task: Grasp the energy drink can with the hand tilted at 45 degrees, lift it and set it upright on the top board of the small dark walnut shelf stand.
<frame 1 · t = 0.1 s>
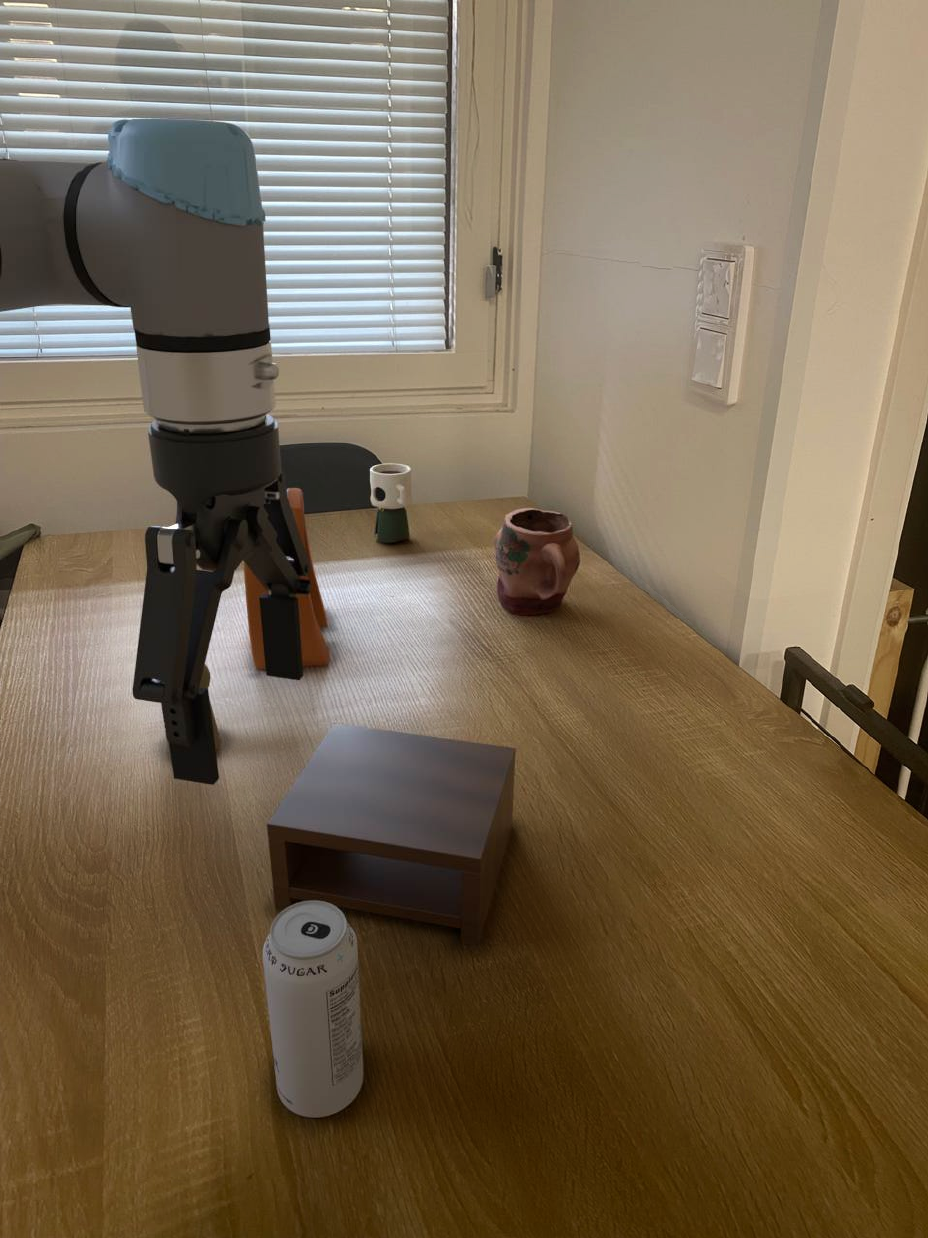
hand: (244, 722, 63), 24 cm above the table, tool pointing down, fingers open, 13 cm apart
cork: (195, 752, 102), on the table
alarm clock: (294, 645, 125), on the table
pink ceramic mug: (534, 608, 137), on the table
energy drink can: (321, 1089, 64), on the table
character mug: (392, 540, 162), on the table
shelf: (401, 872, 84), on the table
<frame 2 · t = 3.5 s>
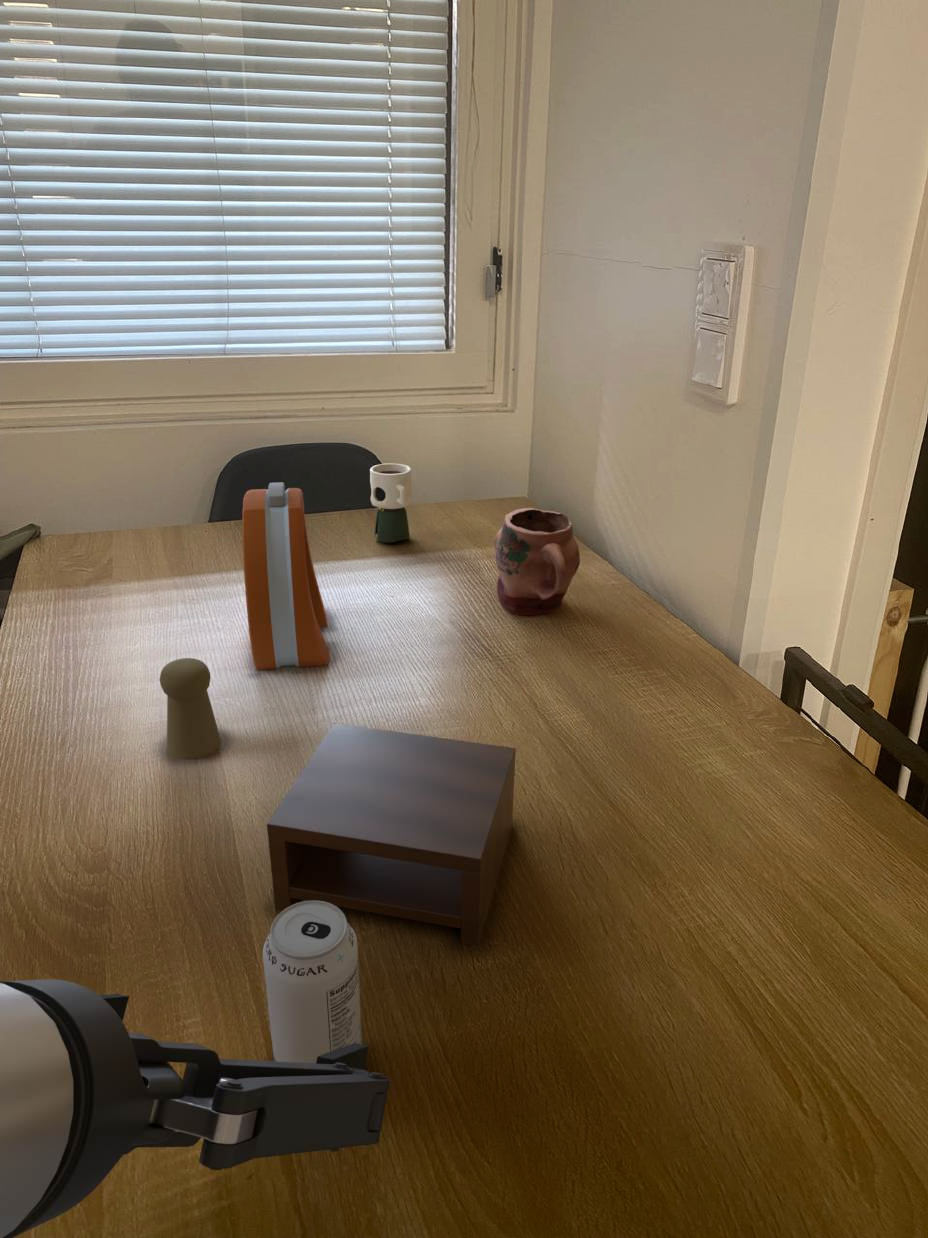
hand: (233, 1046, 48), 17 cm above the table, tool tilted 45°, fingers open, 13 cm apart
nothing on the table moved.
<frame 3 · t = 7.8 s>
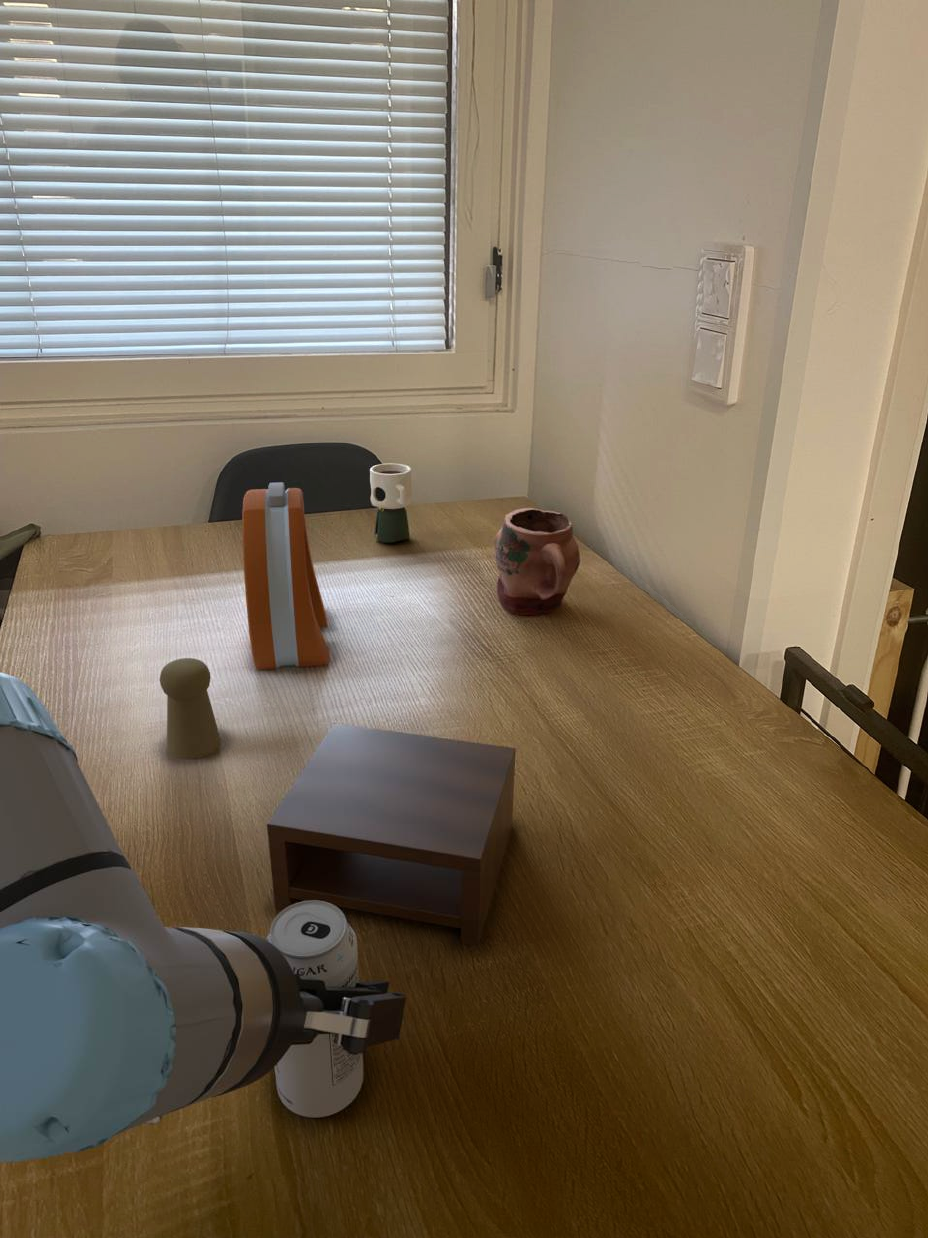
hand: (335, 992, 65), 5 cm above the table, tool tilted 45°, fingers closed on energy drink can, 6 cm apart
energy drink can: (321, 1089, 64), on the table, touching gripper
everything else where it was.
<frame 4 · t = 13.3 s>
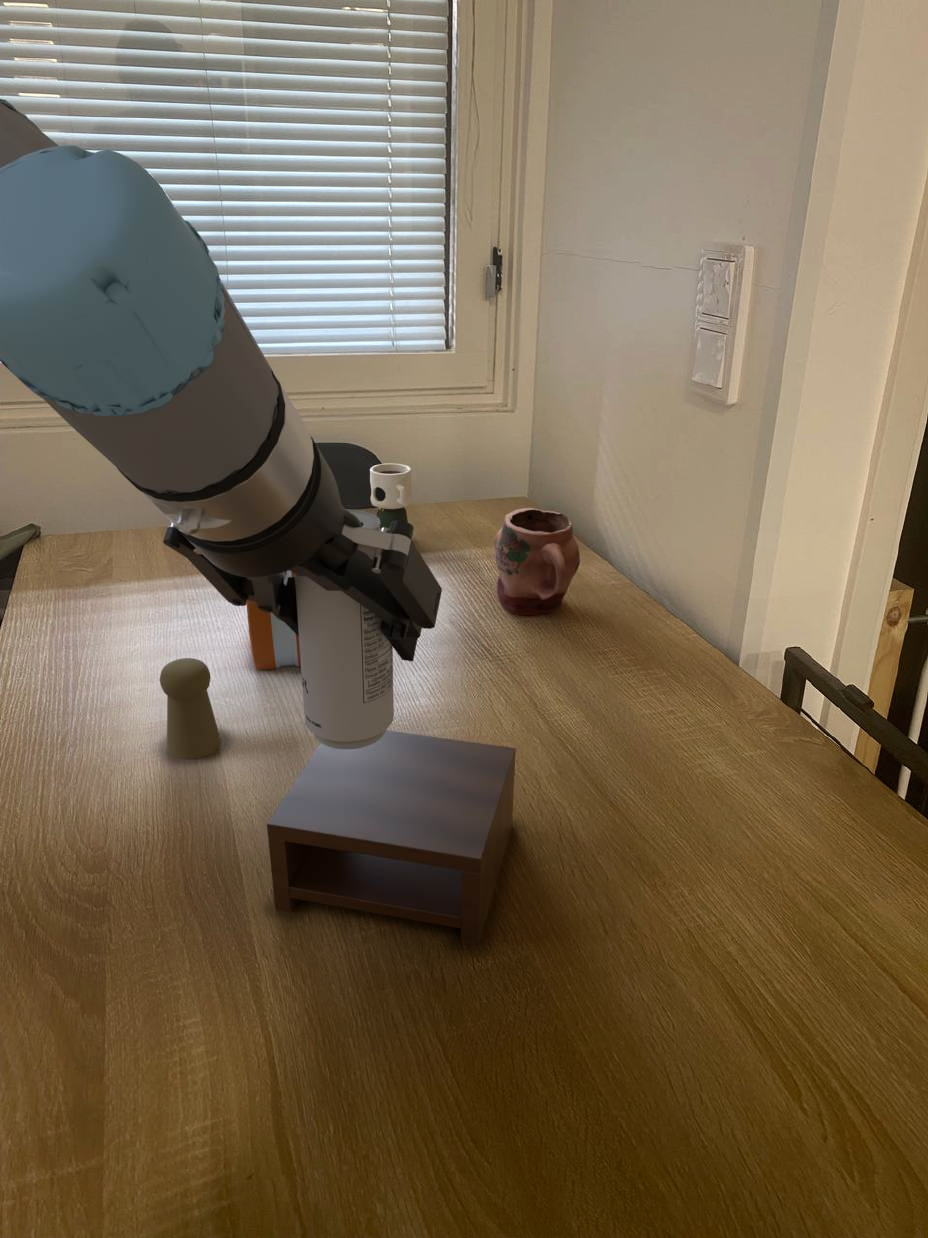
hand: (364, 636, 63), 29 cm above the table, tool tilted 45°, fingers closed on energy drink can, 6 cm apart
energy drink can: (349, 731, 62), point 24 cm above the table, touching gripper
everything else where it was.
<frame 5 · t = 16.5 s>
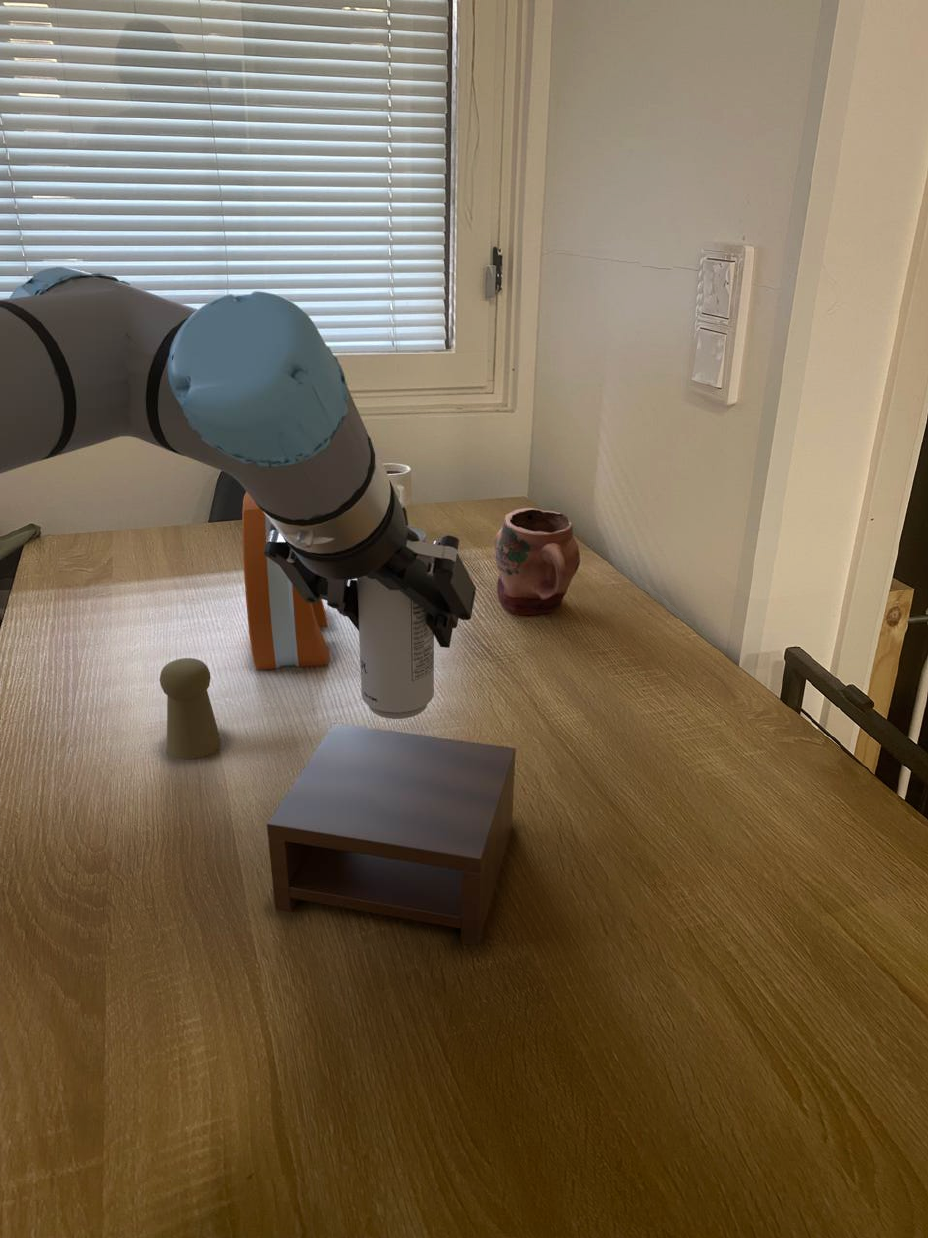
hand: (409, 627, 77), 24 cm above the table, tool tilted 45°, fingers closed on energy drink can, 6 cm apart
energy drink can: (398, 705, 76), point 18 cm above the table, touching gripper
everything else where it was.
when the fingers open (15 cm above the table, at t = 19.1 s): energy drink can stays where it is, resting on shelf.
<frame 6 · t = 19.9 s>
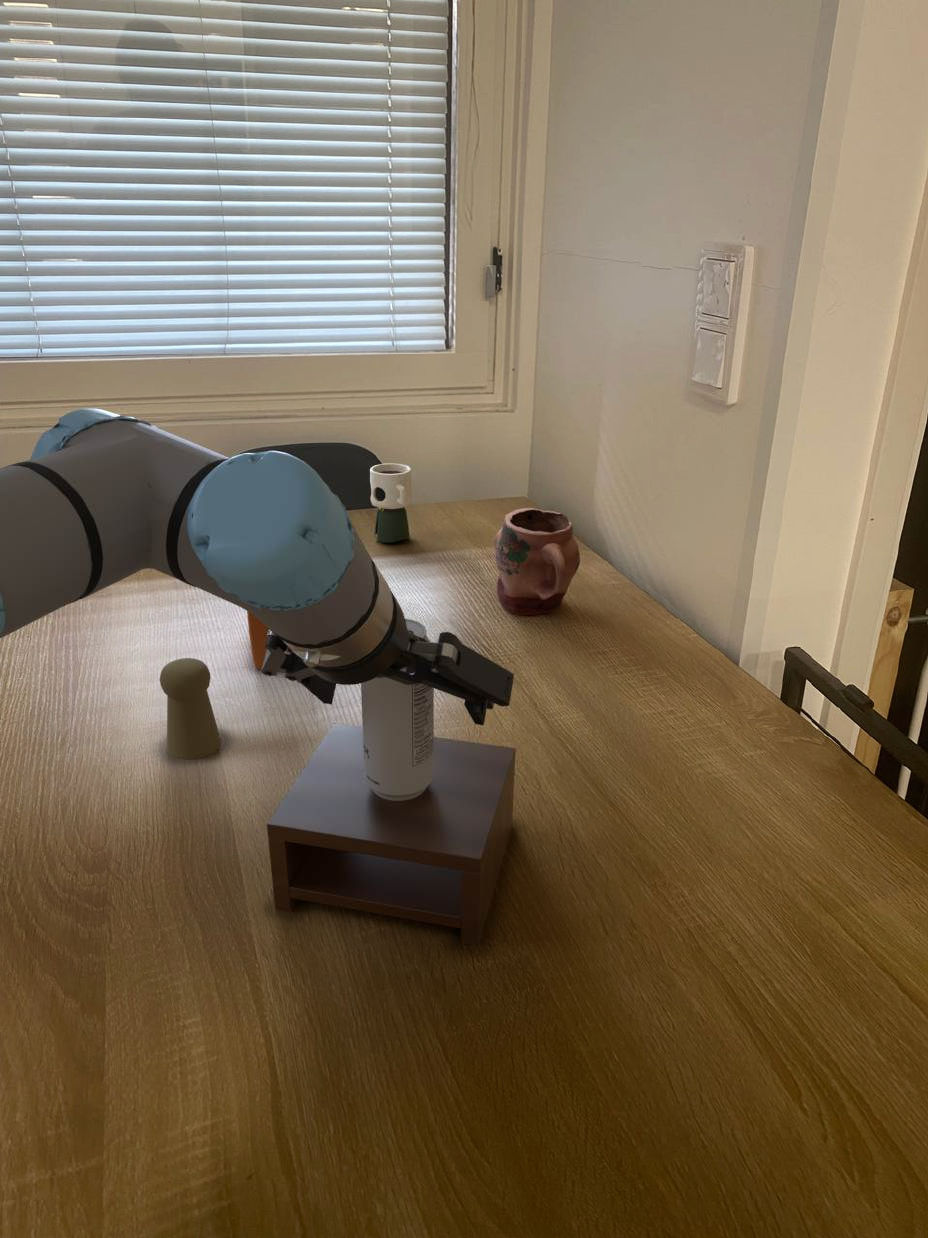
hand: (405, 699, 79), 17 cm above the table, tool tilted 45°, fingers open, 13 cm apart
energy drink can: (399, 785, 80), point 10 cm above the table, touching shelf
everything else where it was.
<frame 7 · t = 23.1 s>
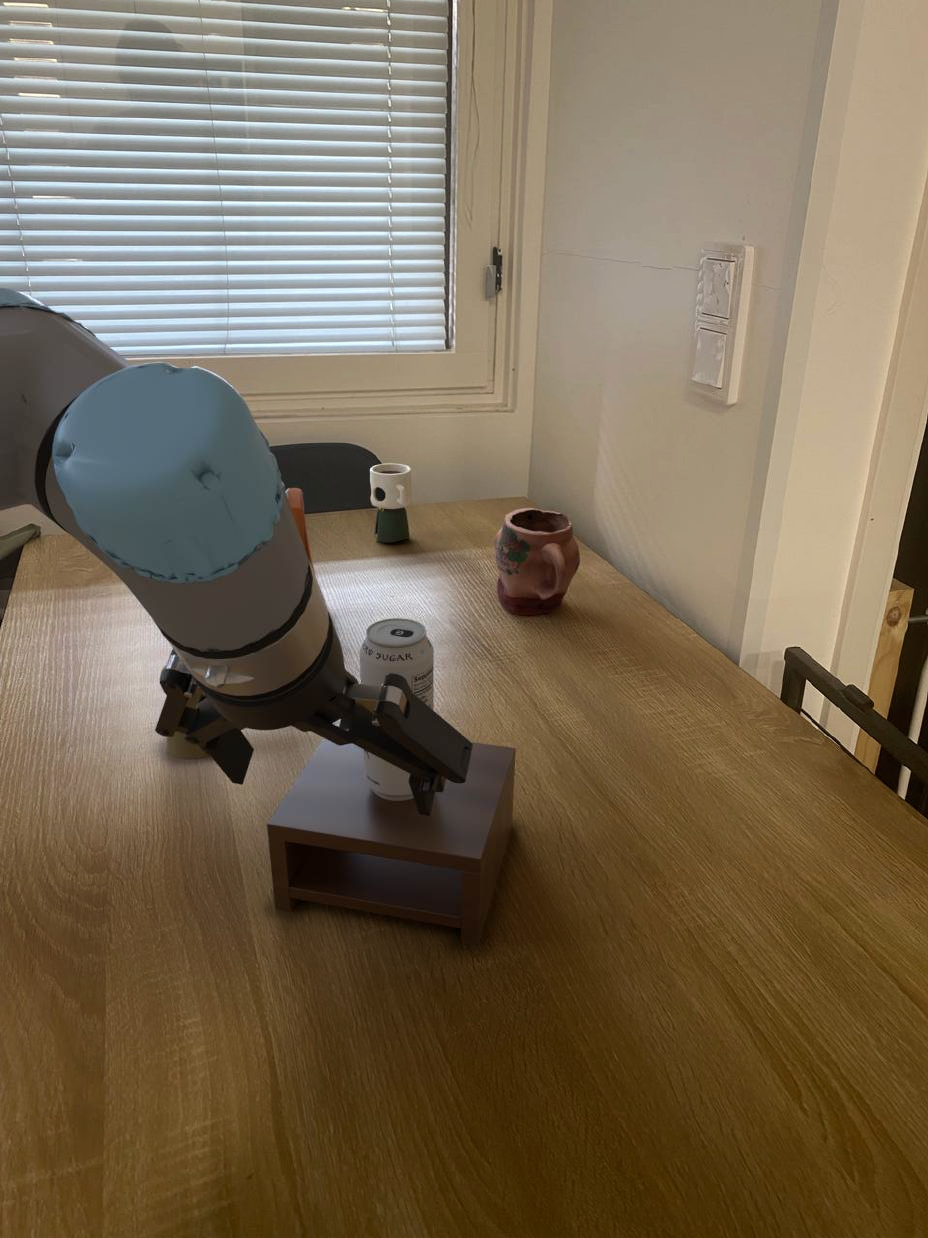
hand: (334, 781, 64), 20 cm above the table, tool tilted 35°, fingers open, 13 cm apart
nothing on the table moved.
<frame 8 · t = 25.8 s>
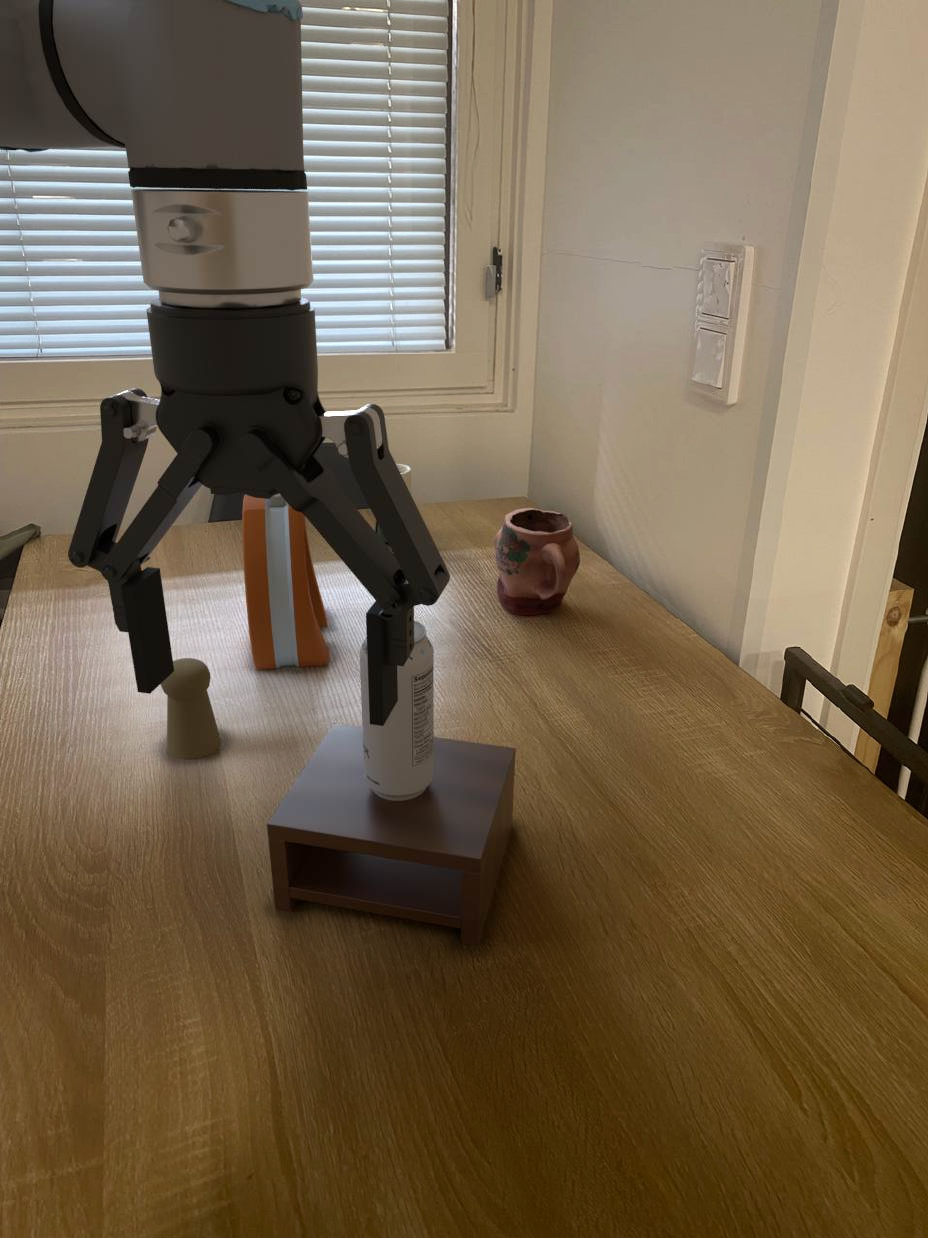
hand: (267, 697, 51), 32 cm above the table, tool pointing down, fingers open, 13 cm apart
nothing on the table moved.
at the end: energy drink can inside the target area on the shelf (0.1 cm from its centre), point 9.8 cm above the shelf's base; energy drink can tilted 0°; the gripper is holding nothing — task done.
